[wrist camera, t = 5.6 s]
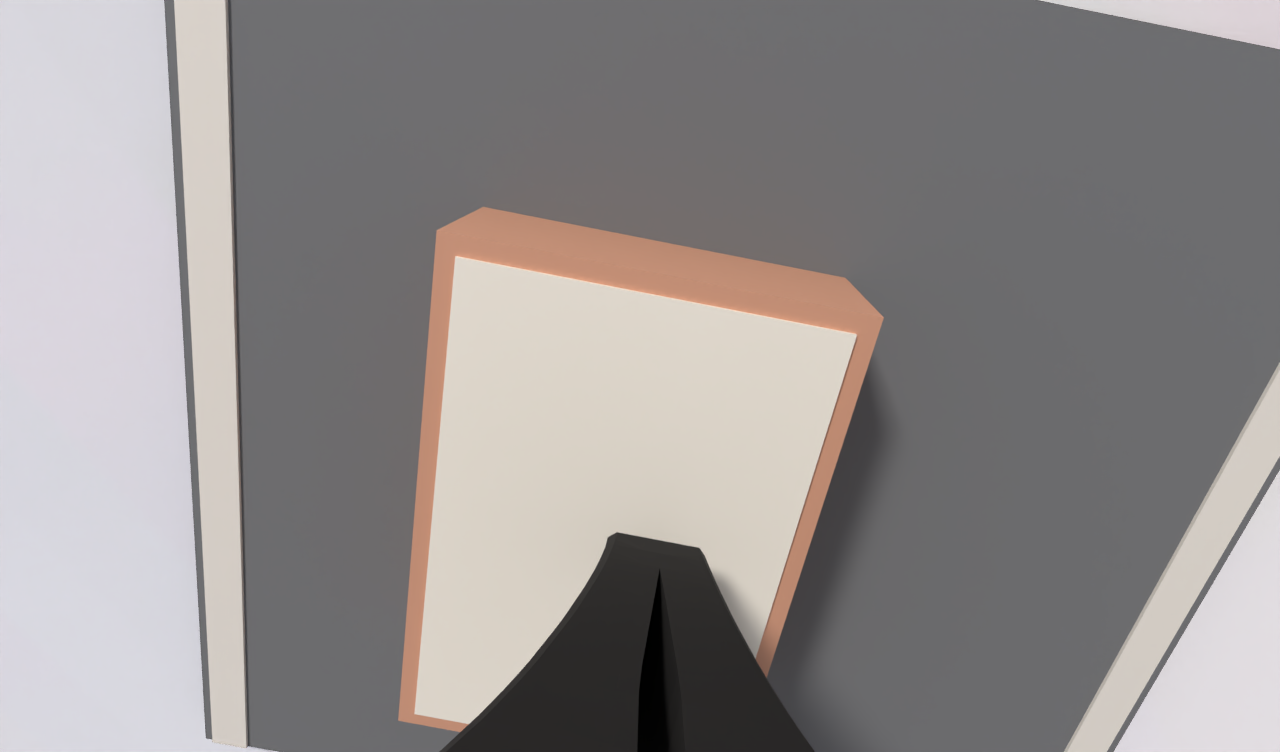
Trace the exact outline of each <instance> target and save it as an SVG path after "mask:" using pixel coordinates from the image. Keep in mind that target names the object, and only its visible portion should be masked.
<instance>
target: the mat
mask: <svg viewBox="0 0 1280 752" xmlns="http://www.w3.org/2000/svg"><path fill="white" fill-rule="evenodd" d="M164 3H165V20H166V38H167V56H168V74H169V91H170V109H171V127H172V145H173V163H174V180H175V198H176V216H177V234H178V251H179V269H180V287H181V305H182V322H183V340H184V358H185V376H186V393H187V411H188V429H189V447H190V464H191V482H192V500H193V518H194V536H195V553H196V571H197V589H198V607H199V624H200V642H201V660H202V678H203V695H204V713H205V731H206V738H207V739H212V742H214V743H219V744H225V745H230V746H236V747H241V748H247V747H248V746H251V747H257V748H262V749H268V750H273V751H279V752H439V751H441V750H442V749H443V748H444V747H445V746H446V745H447V744H448V743H449V742H450V741H451V740H453V739H454V738H455V737H456V736H457V735H458V734H459V733H460V732H457V731H452V730H446V729H441V728H435V727H430V726H424V725H419V724H413V723H408V722H403V721H398V716H399V704H400V691H401V678H402V665H403V653H404V640H405V627H406V614H407V602H408V589H409V576H410V563H411V551H412V538H413V525H414V512H415V500H416V487H417V474H418V461H419V449H420V436H421V423H422V410H423V398H424V385H425V372H426V359H427V347H428V334H429V321H430V308H431V296H432V283H433V270H434V257H435V244H436V232H437V230H438V229H440V228H442V227H444V226H446V225H448V224H450V223H452V222H454V221H456V220H458V219H460V218H462V217H464V216H466V215H468V214H470V213H472V212H474V211H476V210H478V209H480V208H482V207H487V208H492V209H497V210H502V211H507V212H512V213H517V214H522V215H528V216H533V217H538V218H543V219H548V220H553V221H558V222H563V223H568V224H573V225H579V226H584V227H589V228H594V229H599V230H604V231H609V232H614V233H619V234H625V235H630V236H635V237H640V238H645V239H650V240H655V241H660V242H665V243H670V244H676V245H681V246H686V247H691V248H696V249H701V250H706V251H711V252H716V253H721V254H727V255H732V256H737V257H742V258H747V259H752V260H757V261H762V262H767V263H773V264H778V265H783V266H788V267H793V268H798V269H803V270H808V271H813V272H818V273H824V274H829V275H834V276H839V277H844V278H846V279H847V280H848V281H849V282H850V283H851V284H852V285H853V286H854V287H855V288H856V289H857V290H858V291H859V292H860V293H861V294H862V295H863V296H864V298H865V299H866V300H867V301H868V302H869V303H870V304H871V305H872V306H873V307H874V308H875V309H876V310H877V311H878V312H879V313H880V314H881V315H882V316H883V317H884V319H883V322H882V325H881V328H880V331H879V334H878V337H877V340H876V343H875V346H874V349H873V352H872V356H871V359H870V362H869V365H868V368H867V371H866V374H865V377H864V380H863V383H862V386H861V389H860V392H859V395H858V399H857V402H856V405H855V408H854V411H853V414H852V417H851V420H850V423H849V426H848V429H847V432H846V435H845V438H844V442H843V445H842V448H841V451H840V454H839V457H838V460H837V463H836V466H835V469H834V472H833V475H832V478H831V482H830V485H829V488H828V491H827V494H826V497H825V500H824V503H823V506H822V509H821V512H820V515H819V518H818V521H817V525H816V528H815V531H814V534H813V537H812V540H811V543H810V546H809V549H808V552H807V555H806V558H805V561H804V564H803V568H802V571H801V574H800V577H799V580H798V583H797V586H796V589H795V592H794V595H793V598H792V601H791V604H790V607H789V611H788V614H787V617H786V620H785V623H784V626H783V629H782V632H781V635H780V638H779V641H778V644H777V647H776V651H775V654H774V657H773V660H772V663H771V666H770V669H769V672H768V675H767V679H768V681H769V683H770V685H771V686H772V688H773V689H774V691H775V692H776V694H777V696H778V697H779V699H780V700H781V702H782V704H783V705H784V707H785V708H786V710H787V711H788V713H789V715H790V716H791V718H792V719H793V721H794V722H795V724H796V725H797V727H798V728H799V730H800V731H801V733H802V734H803V735H804V737H805V738H806V740H807V741H808V743H809V744H810V745H811V747H812V748H813V750H814V751H815V752H1114V750H1115V748H1116V746H1117V745H1118V743H1119V741H1120V740H1121V738H1122V736H1123V735H1124V733H1125V731H1126V729H1127V728H1128V726H1129V724H1130V723H1131V721H1132V719H1133V718H1134V716H1135V714H1136V713H1137V711H1138V709H1139V707H1140V706H1141V704H1142V702H1143V701H1144V699H1145V697H1146V696H1147V694H1148V692H1149V690H1150V689H1151V687H1152V685H1153V684H1154V682H1155V680H1156V679H1157V677H1158V675H1159V674H1160V672H1161V670H1162V668H1163V667H1164V665H1165V663H1166V662H1167V660H1168V658H1169V657H1170V655H1171V653H1172V651H1173V650H1174V648H1175V646H1176V645H1177V643H1178V641H1179V640H1180V638H1181V636H1182V634H1183V633H1184V631H1185V629H1186V628H1187V626H1188V624H1189V623H1190V621H1191V619H1192V618H1193V616H1194V614H1195V612H1196V611H1197V609H1198V607H1199V606H1200V604H1201V602H1202V601H1203V599H1204V597H1205V595H1206V594H1207V592H1208V590H1209V589H1210V587H1211V585H1212V584H1213V582H1214V580H1215V579H1216V577H1217V575H1218V573H1219V572H1220V570H1221V568H1222V567H1223V565H1224V563H1225V562H1226V560H1227V558H1228V556H1229V555H1230V553H1231V551H1232V550H1233V548H1234V546H1235V545H1236V543H1237V541H1238V540H1239V538H1240V536H1241V534H1242V533H1243V531H1244V529H1245V528H1246V526H1247V524H1248V523H1249V521H1250V519H1251V517H1252V516H1253V514H1254V512H1255V511H1256V509H1257V507H1258V506H1259V504H1260V502H1261V501H1262V499H1263V497H1264V495H1265V494H1266V492H1267V490H1268V489H1269V487H1270V485H1271V484H1272V482H1273V480H1274V478H1275V477H1276V475H1277V473H1278V472H1279V470H1280V49H1275V48H1270V47H1265V46H1260V45H1255V44H1251V43H1246V42H1241V41H1236V40H1231V39H1226V38H1221V37H1216V36H1211V35H1206V34H1201V33H1196V32H1191V31H1187V30H1182V29H1177V28H1172V27H1167V26H1162V25H1157V24H1152V23H1147V22H1142V21H1137V20H1132V19H1127V18H1123V17H1118V16H1113V15H1108V14H1103V13H1098V12H1093V11H1088V10H1083V9H1078V8H1073V7H1068V6H1064V5H1059V4H1054V3H1049V2H1044V1H1039V0H164Z"/></svg>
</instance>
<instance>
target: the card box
mask: <svg viewBox="0 0 1280 752" xmlns="http://www.w3.org/2000/svg"><path fill="white" fill-rule="evenodd" d="M883 319H884V317H883V316H882V315H881V314H880V313H879V312H878V311H877V310H876V309H875V308H874V307H873V306H872V305H871V304H870V303H869V302H868V301H867V300H866V299H865V298H864V296H863V295H862V294H861V293H860V292H859V291H858V290H857V289H856V288H855V287H854V286H853V285H852V284H851V283H850V282H849V281H848V280H847V279H846V278H844V277H839V276H834V275H829V274H824V273H818V272H813V271H808V270H803V269H798V268H793V267H788V266H783V265H778V264H773V263H767V262H762V261H757V260H752V259H747V258H742V257H737V256H732V255H727V254H721V253H716V252H711V251H706V250H701V249H696V248H691V247H686V246H681V245H676V244H670V243H665V242H660V241H655V240H650V239H645V238H640V237H635V236H630V235H625V234H619V233H614V232H609V231H604V230H599V229H594V228H589V227H584V226H579V225H573V224H568V223H563V222H558V221H553V220H548V219H543V218H538V217H533V216H528V215H522V214H517V213H512V212H507V211H502V210H497V209H492V208H487V207H482V208H480V209H478V210H476V211H474V212H472V213H470V214H468V215H466V216H464V217H462V218H460V219H458V220H456V221H454V222H452V223H450V224H448V225H446V226H444V227H442V228H440V229H438V230H437V232H436V244H435V257H434V270H433V283H432V296H431V308H430V321H429V334H428V347H427V359H426V372H425V385H424V398H423V410H422V423H421V436H420V449H419V461H418V474H417V487H416V500H415V512H414V525H413V538H412V551H411V563H410V576H409V589H408V602H407V614H406V627H405V640H404V653H403V665H402V678H401V691H400V704H399V716H398V721H403V722H408V723H413V724H419V725H424V726H430V727H435V728H441V729H446V730H452V731H457V732H461V731H462V730H463V729H464V728H465V727H466V726H468V725H469V724H470V723H471V722H472V721H473V720H474V719H475V718H476V717H477V716H478V715H479V714H480V713H481V712H482V711H483V710H484V709H485V708H486V707H487V706H488V705H489V704H490V703H491V702H492V701H493V700H494V699H495V698H496V697H497V696H498V695H499V694H500V693H501V692H502V691H503V690H504V689H505V688H506V687H507V685H508V684H509V683H510V682H511V681H512V680H513V679H514V678H515V677H516V676H517V674H518V673H519V672H520V671H521V670H522V669H523V668H524V667H525V665H526V664H527V663H528V662H529V661H530V660H531V658H532V657H533V656H534V655H535V653H536V652H537V651H538V650H539V648H540V647H541V646H542V645H543V643H544V642H545V641H546V640H547V638H548V637H549V636H550V635H551V633H552V632H553V631H554V630H555V628H556V627H557V626H558V625H559V623H560V622H561V621H562V619H563V618H564V616H565V615H566V613H567V612H568V611H569V609H570V608H571V606H572V605H573V603H574V602H575V600H576V599H577V597H578V596H579V594H580V593H581V591H582V590H583V588H584V587H585V585H586V584H587V582H588V580H589V578H590V577H591V575H592V573H593V571H594V570H595V568H596V566H597V564H598V562H599V560H600V558H601V556H602V554H603V551H604V549H605V546H606V542H607V538H608V537H609V536H611V535H613V534H615V533H616V532H619V533H624V534H629V535H634V536H640V537H645V538H650V539H656V540H661V541H666V542H671V543H677V544H682V545H687V546H693V547H698V548H700V549H701V551H702V552H703V554H704V555H705V557H706V560H707V562H708V565H709V567H710V569H711V572H712V574H713V576H714V579H715V581H716V583H717V585H718V587H719V589H720V592H721V594H722V596H723V598H724V600H725V602H726V604H727V606H728V608H729V610H730V612H731V614H732V616H733V618H734V620H735V622H736V624H737V626H738V628H739V630H740V632H741V633H742V635H743V637H744V639H745V641H746V643H747V644H748V646H749V648H750V650H751V652H752V653H753V655H754V657H755V659H756V661H757V663H758V664H759V666H760V668H761V669H762V671H763V673H764V674H765V676H766V678H767V675H768V672H769V669H770V666H771V663H772V660H773V657H774V654H775V651H776V647H777V644H778V641H779V638H780V635H781V632H782V629H783V626H784V623H785V620H786V617H787V614H788V611H789V607H790V604H791V601H792V598H793V595H794V592H795V589H796V586H797V583H798V580H799V577H800V574H801V571H802V568H803V564H804V561H805V558H806V555H807V552H808V549H809V546H810V543H811V540H812V537H813V534H814V531H815V528H816V525H817V521H818V518H819V515H820V512H821V509H822V506H823V503H824V500H825V497H826V494H827V491H828V488H829V485H830V482H831V478H832V475H833V472H834V469H835V466H836V463H837V460H838V457H839V454H840V451H841V448H842V445H843V442H844V438H845V435H846V432H847V429H848V426H849V423H850V420H851V417H852V414H853V411H854V408H855V405H856V402H857V399H858V395H859V392H860V389H861V386H862V383H863V380H864V377H865V374H866V371H867V368H868V365H869V362H870V359H871V356H872V352H873V349H874V346H875V343H876V340H877V337H878V334H879V331H880V328H881V325H882V322H883Z"/></svg>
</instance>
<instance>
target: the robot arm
mask: <svg viewBox="0 0 1280 752" xmlns="http://www.w3.org/2000/svg"><path fill="white" fill-rule="evenodd" d="M439 752H815V751H814V750H813V748H812V747H811V745H810V744H809V743H808V741H807V740H806V738H805V737H804V735H803V734H802V733H801V731H800V730H799V728H798V727H797V725H796V724H795V722H794V721H793V719H792V718H791V716H790V715H789V713H788V711H787V710H786V708H785V707H784V705H783V704H782V702H781V700H780V699H779V697H778V696H777V694H776V692H775V691H774V689H773V688H772V686H771V685H770V683H769V681H768V679H767V678H766V676H765V674H764V673H763V671H762V669H761V668H760V666H759V664H758V663H757V661H756V659H755V657H754V655H753V653H752V652H751V650H750V648H749V646H748V644H747V643H746V641H745V639H744V637H743V635H742V633H741V632H740V630H739V628H738V626H737V624H736V622H735V620H734V618H733V616H732V614H731V612H730V610H729V608H728V606H727V604H726V602H725V600H724V598H723V596H722V594H721V592H720V589H719V587H718V585H717V583H716V581H715V579H714V576H713V574H712V572H711V569H710V567H709V565H708V562H707V560H706V557H705V555H704V554H703V552H702V551H701V549H700V548H698V547H693V546H687V545H682V544H677V543H671V542H666V541H661V540H656V539H650V538H645V537H640V536H634V535H629V534H624V533H619V532H616V533H615V534H613V535H611V536H609V537H608V538H607V542H606V546H605V549H604V551H603V554H602V556H601V558H600V560H599V562H598V564H597V566H596V568H595V570H594V571H593V573H592V575H591V577H590V578H589V580H588V582H587V584H586V585H585V587H584V588H583V590H582V591H581V593H580V594H579V596H578V597H577V599H576V600H575V602H574V603H573V605H572V606H571V608H570V609H569V611H568V612H567V613H566V615H565V616H564V618H563V619H562V621H561V622H560V623H559V625H558V626H557V627H556V628H555V630H554V631H553V632H552V633H551V635H550V636H549V637H548V638H547V640H546V641H545V642H544V643H543V645H542V646H541V647H540V648H539V650H538V651H537V652H536V653H535V655H534V656H533V657H532V658H531V660H530V661H529V662H528V663H527V664H526V665H525V667H524V668H523V669H522V670H521V671H520V672H519V673H518V674H517V676H516V677H515V678H514V679H513V680H512V681H511V682H510V683H509V684H508V685H507V687H506V688H505V689H504V690H503V691H502V692H501V693H500V694H499V695H498V696H497V697H496V698H495V699H494V700H493V701H492V702H491V703H490V704H489V705H488V706H487V707H486V708H485V709H484V710H483V711H482V712H481V713H480V714H479V715H478V716H477V717H476V718H475V719H474V720H473V721H472V722H471V723H470V724H469V725H468V726H466V727H465V728H464V729H463V730H462V731H461V732H460V733H459V734H458V735H457V736H456V737H455V738H454V739H453V740H451V741H450V742H449V743H448V744H447V745H446V746H445V747H444V748H443V749H442V750H441V751H439Z"/></svg>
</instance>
